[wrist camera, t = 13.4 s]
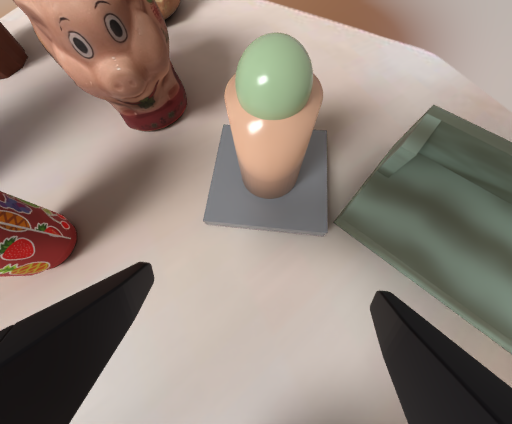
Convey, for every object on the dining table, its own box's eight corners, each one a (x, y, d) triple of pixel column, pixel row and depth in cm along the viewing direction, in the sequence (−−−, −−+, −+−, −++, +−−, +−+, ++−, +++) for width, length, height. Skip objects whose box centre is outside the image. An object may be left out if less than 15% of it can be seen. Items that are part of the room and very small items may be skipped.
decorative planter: (93, 79, 31) (-35, -69, 18) (162, 49, 32) (92, -107, 19) (137, 168, 25) (-6, 42, 12) (219, 124, 26) (174, -27, 13)
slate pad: (323, 236, 21) (327, 233, 19) (207, 224, 22) (203, 220, 20) (323, 138, 25) (326, 130, 24) (225, 132, 26) (223, 124, 25)
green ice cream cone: (299, 198, 21) (349, 81, 9) (240, 199, 21) (208, 87, 9) (295, 149, 23) (330, 0, 11) (242, 150, 23) (217, 6, 11)
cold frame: (547, 380, 16) (702, 435, 10) (333, 222, 21) (358, 201, 16) (590, 256, 19) (729, 247, 13) (393, 145, 24) (433, 104, 18)
